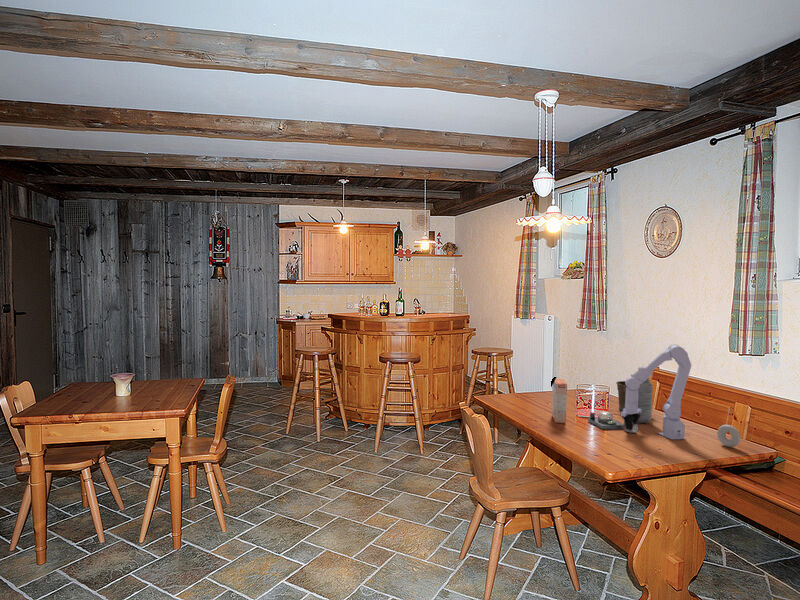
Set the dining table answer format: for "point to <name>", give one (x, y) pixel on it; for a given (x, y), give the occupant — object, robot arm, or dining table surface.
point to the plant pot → (621, 394)
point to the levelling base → (604, 425)
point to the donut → (734, 433)
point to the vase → (645, 401)
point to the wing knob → (633, 429)
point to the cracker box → (559, 401)
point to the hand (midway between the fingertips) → (630, 428)
